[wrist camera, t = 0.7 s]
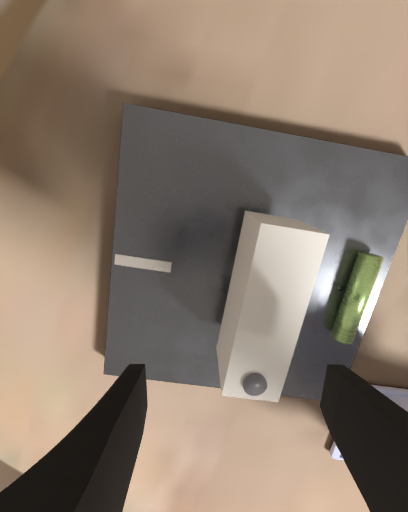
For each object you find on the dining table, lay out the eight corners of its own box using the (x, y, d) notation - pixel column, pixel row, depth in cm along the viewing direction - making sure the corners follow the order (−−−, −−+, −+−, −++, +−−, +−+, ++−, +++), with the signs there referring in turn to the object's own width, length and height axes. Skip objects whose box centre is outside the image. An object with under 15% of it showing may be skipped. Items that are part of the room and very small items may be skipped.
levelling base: (411, 161, 17) (451, 159, 15) (328, 387, 23) (346, 417, 20) (130, 108, 16) (116, 95, 13) (109, 360, 21) (96, 388, 19)
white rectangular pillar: (288, 215, 17) (331, 235, 11) (256, 340, 19) (279, 405, 14) (241, 207, 16) (262, 224, 11) (215, 335, 19) (222, 398, 14)
